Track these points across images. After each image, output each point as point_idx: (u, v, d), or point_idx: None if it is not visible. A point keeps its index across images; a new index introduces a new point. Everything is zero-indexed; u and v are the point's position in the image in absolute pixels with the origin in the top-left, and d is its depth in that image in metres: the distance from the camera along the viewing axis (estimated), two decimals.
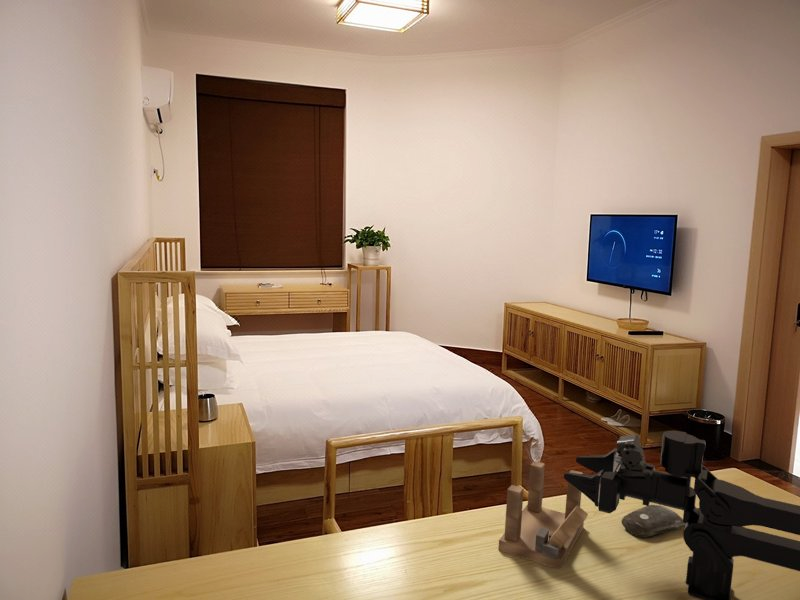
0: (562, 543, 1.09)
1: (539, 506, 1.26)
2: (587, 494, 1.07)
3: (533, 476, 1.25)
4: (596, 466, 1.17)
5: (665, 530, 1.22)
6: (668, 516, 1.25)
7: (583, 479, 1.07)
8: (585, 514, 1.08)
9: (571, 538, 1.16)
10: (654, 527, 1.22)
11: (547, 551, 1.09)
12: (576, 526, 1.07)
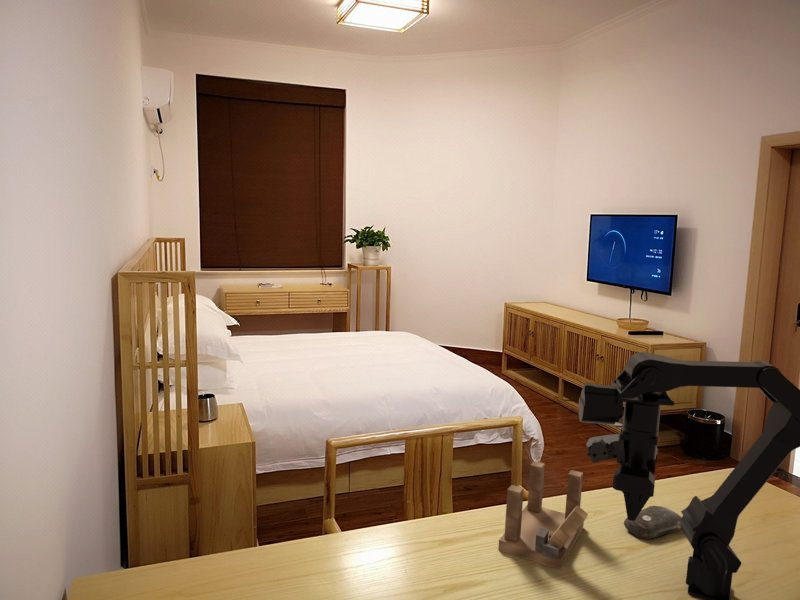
0: (562, 543, 1.09)
1: (539, 506, 1.26)
2: (644, 500, 0.99)
3: (533, 476, 1.25)
4: None
5: (668, 531, 1.22)
6: (670, 517, 1.24)
7: (628, 501, 1.00)
8: (585, 514, 1.08)
9: (571, 538, 1.16)
10: (657, 528, 1.21)
11: (547, 551, 1.09)
12: (576, 526, 1.07)
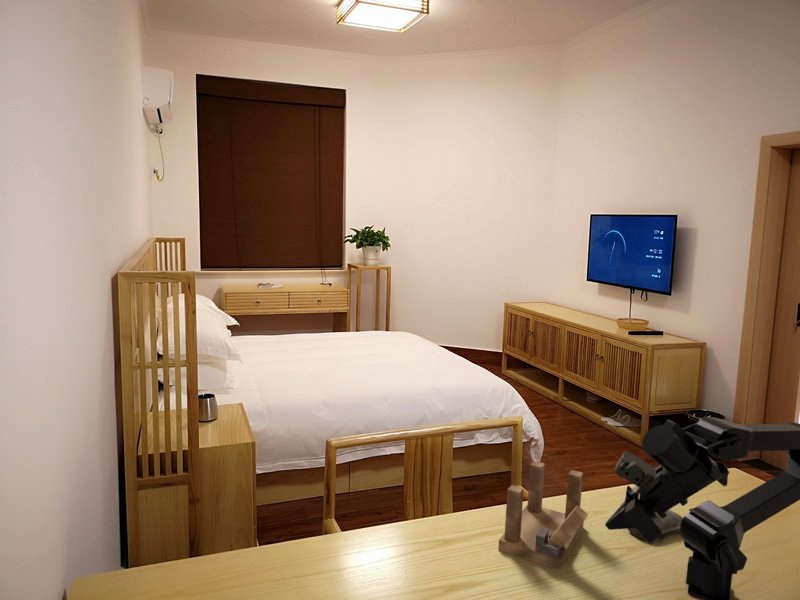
0: (562, 543, 1.09)
1: (539, 506, 1.26)
2: (635, 526, 1.03)
3: (533, 476, 1.25)
4: None
5: (669, 532, 1.22)
6: (671, 518, 1.24)
7: (620, 516, 1.04)
8: (585, 514, 1.08)
9: (571, 538, 1.16)
10: None
11: (547, 551, 1.09)
12: (576, 526, 1.07)
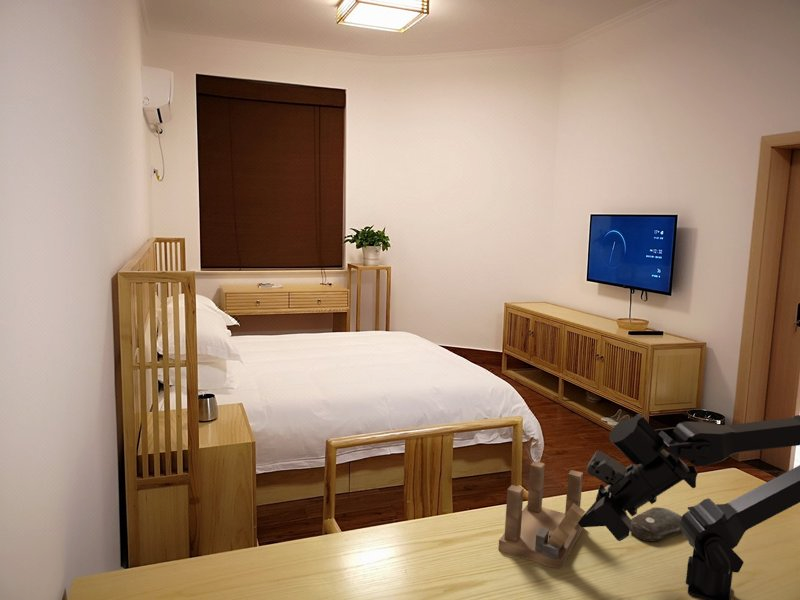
0: (561, 542, 1.09)
1: (539, 506, 1.26)
2: None
3: (533, 476, 1.25)
4: None
5: (671, 533, 1.21)
6: (673, 519, 1.24)
7: (592, 514, 1.06)
8: (582, 511, 1.08)
9: (571, 538, 1.16)
10: (661, 531, 1.20)
11: (547, 551, 1.09)
12: (573, 523, 1.08)
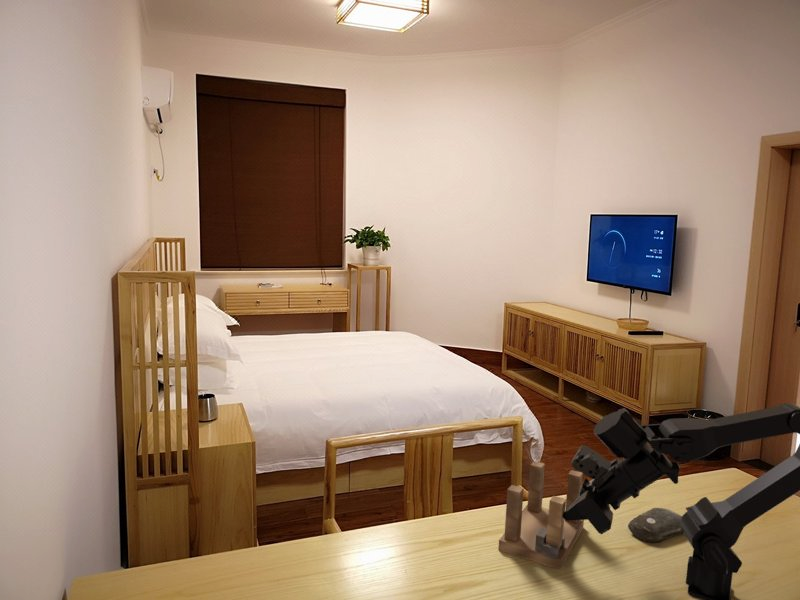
0: (557, 538, 1.09)
1: (539, 506, 1.26)
2: None
3: (533, 476, 1.25)
4: None
5: (672, 534, 1.21)
6: (674, 519, 1.23)
7: (576, 507, 1.07)
8: (562, 500, 1.10)
9: (571, 538, 1.16)
10: (662, 531, 1.20)
11: (547, 551, 1.09)
12: (559, 514, 1.09)
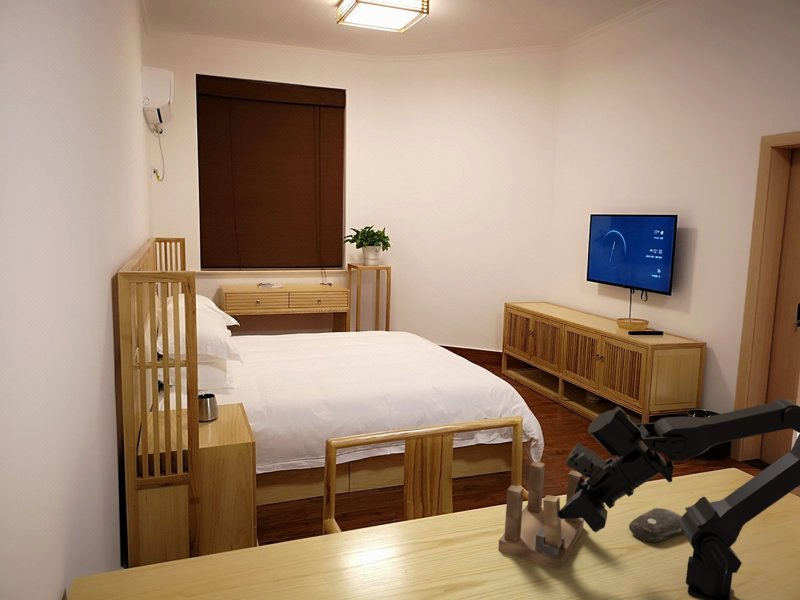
0: (556, 537, 1.10)
1: (539, 506, 1.26)
2: None
3: (533, 476, 1.25)
4: None
5: (673, 534, 1.21)
6: (675, 519, 1.23)
7: (571, 506, 1.08)
8: (556, 498, 1.10)
9: (571, 538, 1.16)
10: (663, 532, 1.20)
11: (547, 551, 1.09)
12: (554, 512, 1.09)
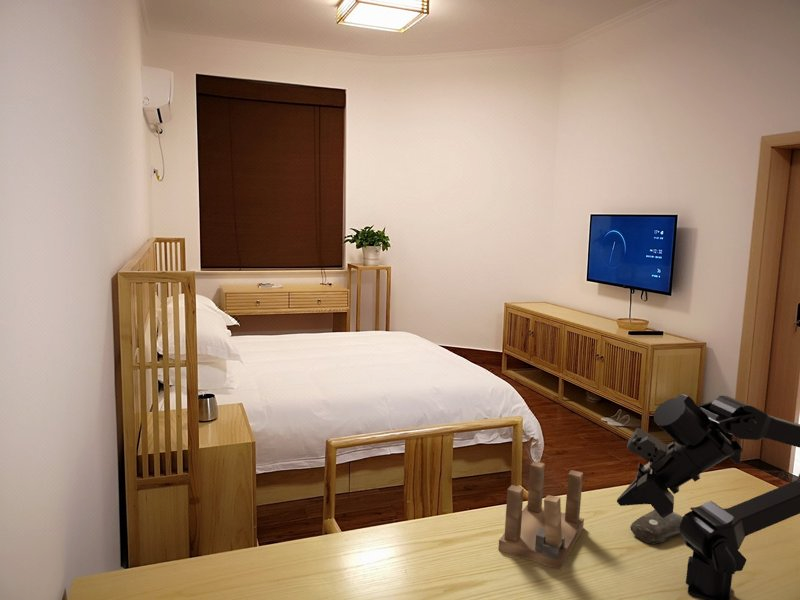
0: (556, 537, 1.10)
1: (539, 506, 1.26)
2: (646, 501, 1.03)
3: (533, 476, 1.25)
4: None
5: (674, 535, 1.20)
6: (676, 520, 1.23)
7: (632, 492, 1.04)
8: (556, 498, 1.10)
9: (571, 538, 1.16)
10: (665, 533, 1.19)
11: (547, 551, 1.09)
12: (554, 513, 1.09)
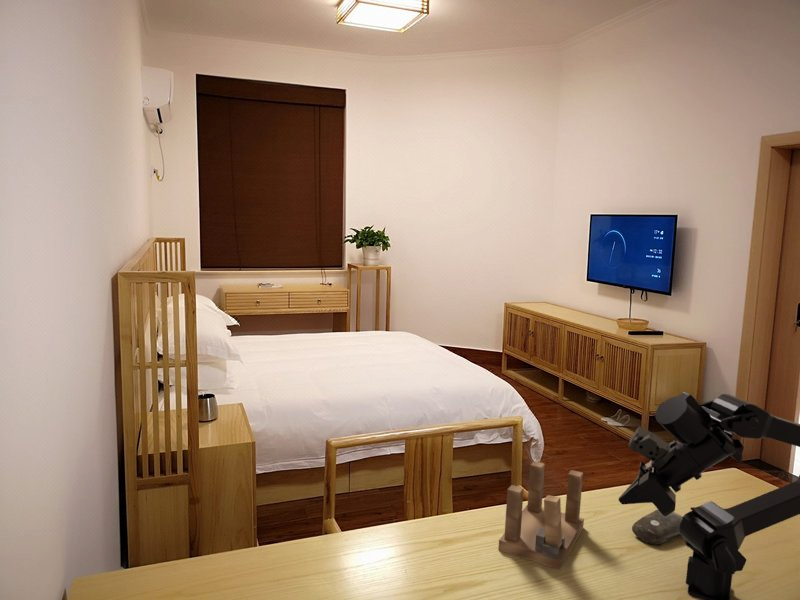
0: (556, 537, 1.10)
1: (539, 506, 1.26)
2: (648, 500, 1.03)
3: (533, 476, 1.25)
4: None
5: (676, 536, 1.20)
6: (677, 521, 1.23)
7: (634, 490, 1.04)
8: (556, 498, 1.10)
9: (571, 538, 1.16)
10: (666, 533, 1.19)
11: (547, 551, 1.09)
12: (554, 513, 1.09)
